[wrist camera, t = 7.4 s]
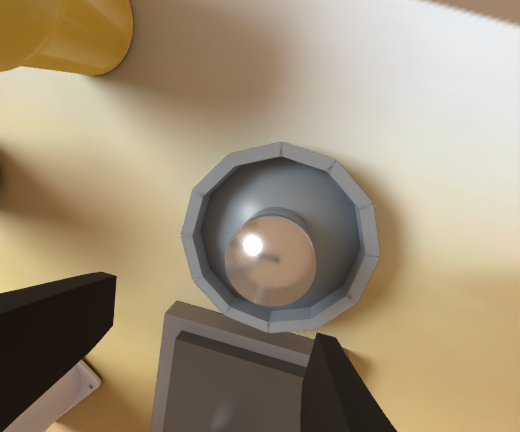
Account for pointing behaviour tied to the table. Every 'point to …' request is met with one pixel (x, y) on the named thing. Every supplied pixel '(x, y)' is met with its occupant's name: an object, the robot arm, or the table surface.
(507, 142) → the table surface
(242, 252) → the tan glossy rounded piece
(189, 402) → the scale
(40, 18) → the plant pot
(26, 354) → the robot arm
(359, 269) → the tray
